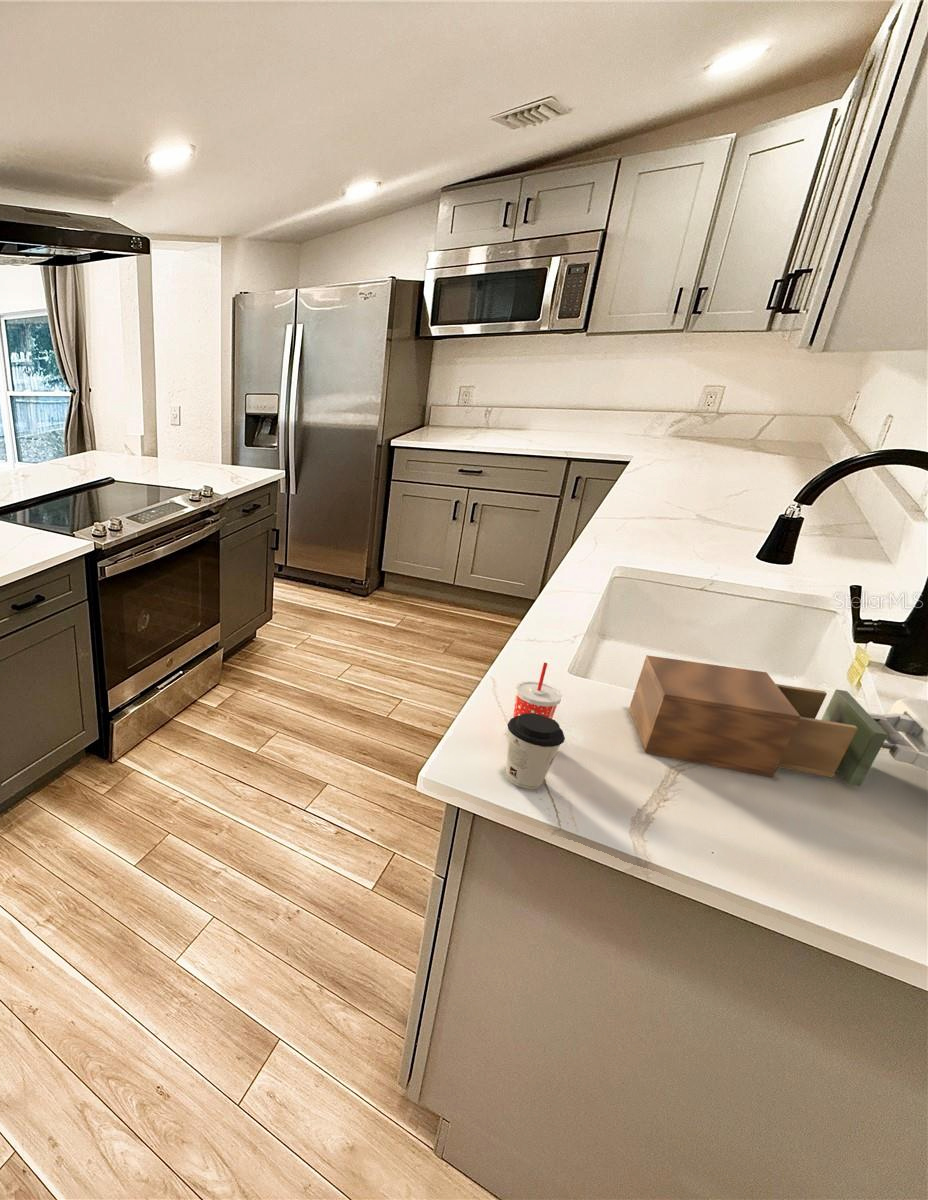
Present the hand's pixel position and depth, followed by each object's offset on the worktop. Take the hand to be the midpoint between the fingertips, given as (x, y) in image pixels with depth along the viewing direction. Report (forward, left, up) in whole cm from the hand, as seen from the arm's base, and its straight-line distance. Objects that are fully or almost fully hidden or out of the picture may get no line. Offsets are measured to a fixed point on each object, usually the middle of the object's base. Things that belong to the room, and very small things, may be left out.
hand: (878, 734), depth 85 cm
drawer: (+7, +1, -5) cm, 9 cm away
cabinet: (+18, +2, -6) cm, 19 cm away
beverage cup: (+40, +13, -7) cm, 43 cm away
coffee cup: (+40, +24, -7) cm, 47 cm away
